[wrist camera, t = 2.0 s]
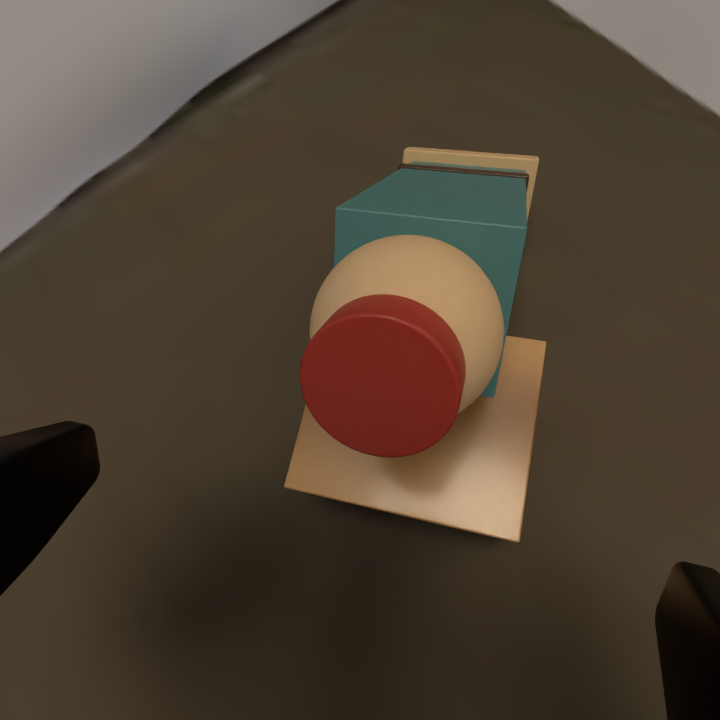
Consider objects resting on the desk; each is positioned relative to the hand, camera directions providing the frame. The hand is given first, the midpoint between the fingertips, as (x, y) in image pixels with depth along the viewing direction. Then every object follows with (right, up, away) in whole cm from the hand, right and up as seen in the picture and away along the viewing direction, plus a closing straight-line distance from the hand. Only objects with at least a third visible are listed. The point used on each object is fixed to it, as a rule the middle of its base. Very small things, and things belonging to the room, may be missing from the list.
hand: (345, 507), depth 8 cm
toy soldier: (+4, +3, +14) cm, 14 cm away
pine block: (+3, -1, +13) cm, 13 cm away
